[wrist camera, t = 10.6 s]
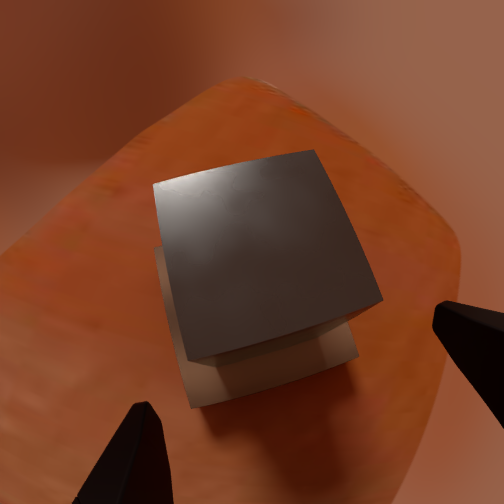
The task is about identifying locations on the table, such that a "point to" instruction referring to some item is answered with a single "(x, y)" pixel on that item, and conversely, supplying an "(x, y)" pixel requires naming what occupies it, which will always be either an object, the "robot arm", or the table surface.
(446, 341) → the robot arm
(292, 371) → the walnut block
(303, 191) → the tea tin
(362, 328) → the table surface
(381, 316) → the table surface
